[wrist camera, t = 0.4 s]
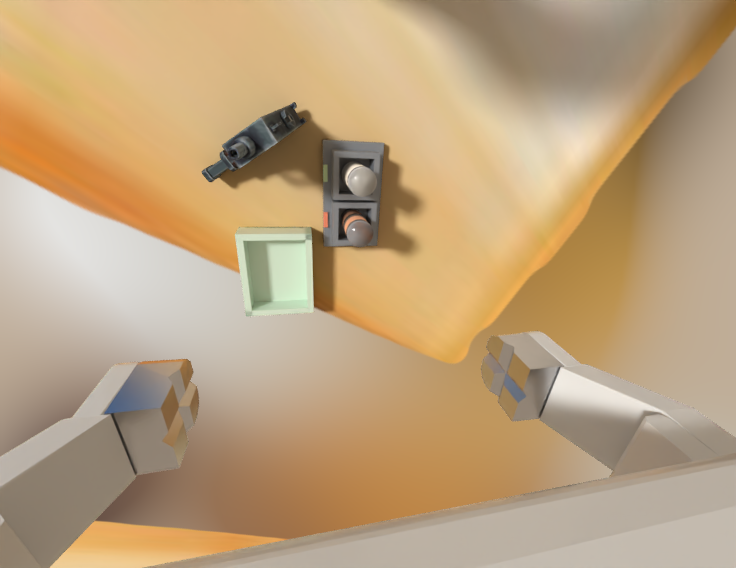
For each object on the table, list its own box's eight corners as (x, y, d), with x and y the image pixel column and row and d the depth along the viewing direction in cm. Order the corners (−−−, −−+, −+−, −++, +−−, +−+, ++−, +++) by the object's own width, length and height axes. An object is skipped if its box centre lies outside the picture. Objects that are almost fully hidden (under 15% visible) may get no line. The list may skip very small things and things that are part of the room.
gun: (144, 198, 33) (254, 117, 28) (214, 159, 47) (295, 101, 42) (165, 219, 34) (274, 145, 30) (227, 175, 48) (307, 120, 43)
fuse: (341, 160, 47) (349, 166, 40) (365, 161, 48) (377, 167, 41) (340, 186, 49) (348, 196, 42) (364, 186, 49) (375, 197, 42)
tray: (238, 227, 49) (234, 234, 46) (310, 226, 51) (311, 233, 48) (248, 305, 55) (246, 316, 52) (312, 302, 58) (313, 312, 54)
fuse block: (322, 139, 46) (324, 140, 43) (382, 142, 48) (389, 144, 44) (323, 244, 53) (325, 252, 50) (375, 243, 55) (381, 251, 52)
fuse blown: (340, 207, 50) (347, 221, 43) (363, 208, 51) (374, 221, 44) (340, 230, 52) (347, 247, 45) (362, 230, 52) (372, 246, 45)
